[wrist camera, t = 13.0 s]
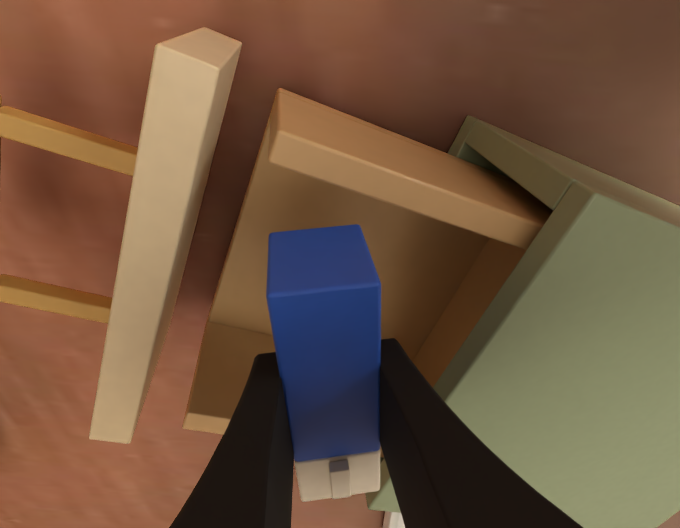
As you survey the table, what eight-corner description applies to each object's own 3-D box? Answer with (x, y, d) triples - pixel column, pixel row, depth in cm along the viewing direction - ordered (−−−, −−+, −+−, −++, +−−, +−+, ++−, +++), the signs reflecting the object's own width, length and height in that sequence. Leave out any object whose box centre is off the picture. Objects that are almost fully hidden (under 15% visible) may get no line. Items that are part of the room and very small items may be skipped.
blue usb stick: (268, 231, 10) (264, 305, 8) (359, 222, 10) (385, 291, 8) (297, 423, 14) (301, 514, 11) (365, 414, 14) (383, 503, 12)
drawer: (6, 290, 17) (-110, 414, 12) (15, -52, 11) (-188, -91, 6) (403, 373, 22) (441, 484, 17) (535, 163, 16) (646, 234, 11)
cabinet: (340, 357, 22) (367, 510, 15) (466, 114, 16) (596, 192, 10) (551, 401, 26) (643, 538, 19) (712, 220, 20) (921, 326, 14)
